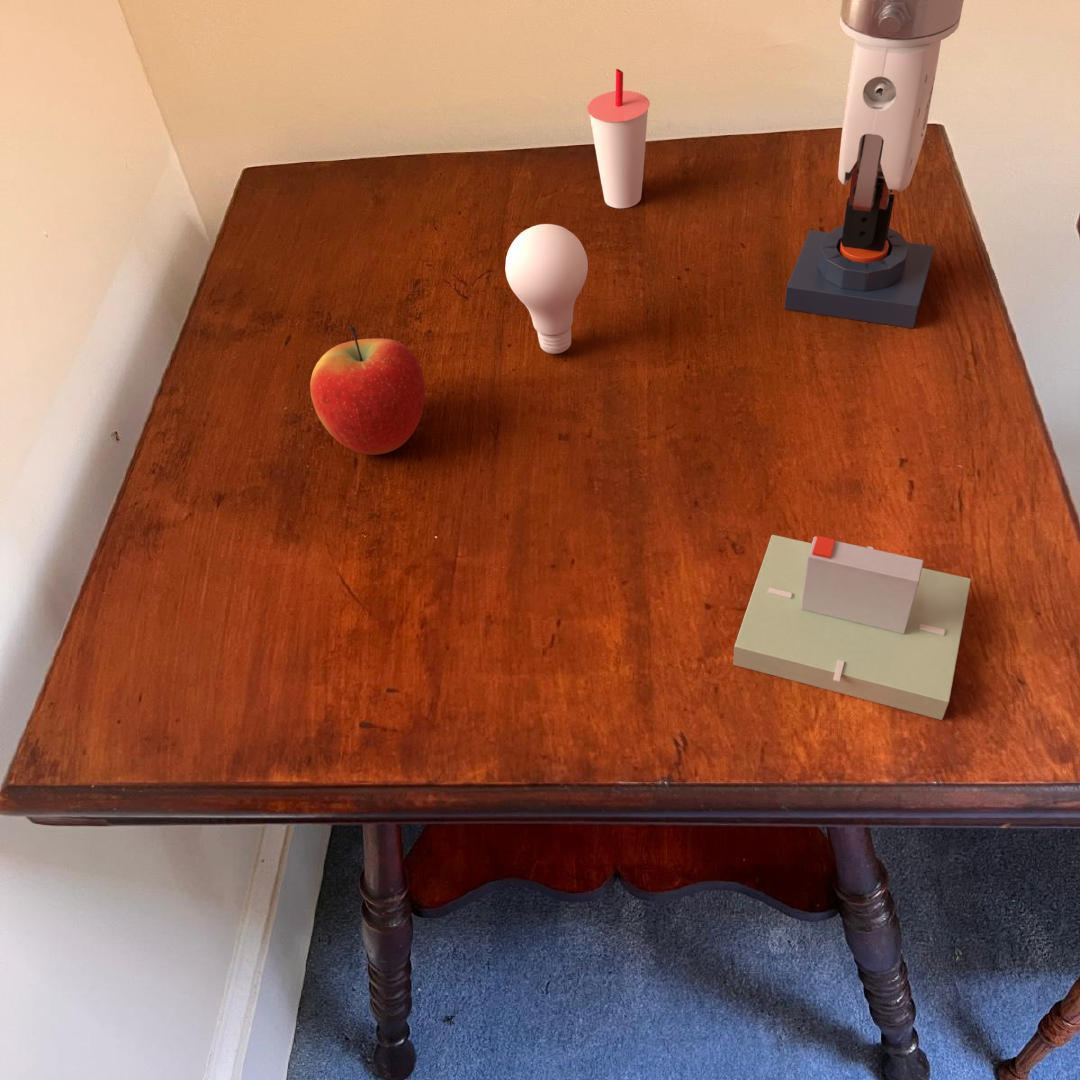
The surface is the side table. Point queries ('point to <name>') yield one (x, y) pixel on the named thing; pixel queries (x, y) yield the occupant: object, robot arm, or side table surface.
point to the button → (864, 254)
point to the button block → (859, 281)
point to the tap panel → (853, 638)
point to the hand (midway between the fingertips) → (863, 243)
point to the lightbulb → (548, 280)
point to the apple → (369, 394)
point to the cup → (620, 143)
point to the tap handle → (860, 584)
